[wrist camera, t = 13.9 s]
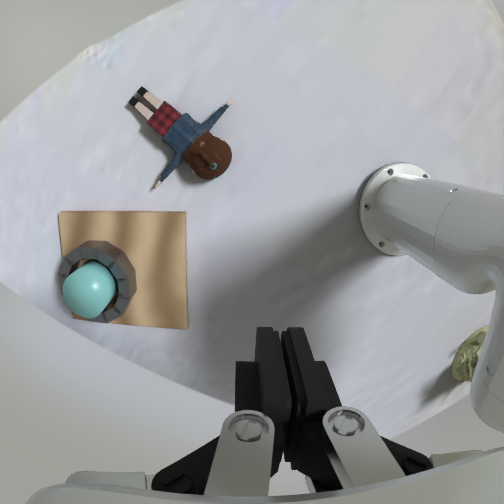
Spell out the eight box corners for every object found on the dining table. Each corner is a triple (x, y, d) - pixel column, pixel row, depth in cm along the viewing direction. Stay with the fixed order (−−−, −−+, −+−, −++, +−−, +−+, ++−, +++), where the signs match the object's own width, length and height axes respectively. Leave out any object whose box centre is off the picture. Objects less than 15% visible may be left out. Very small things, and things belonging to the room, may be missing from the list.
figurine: (494, 366, 50) (531, 406, 36) (448, 391, 51) (482, 439, 37) (503, 314, 46) (550, 351, 32) (454, 339, 47) (499, 387, 33)
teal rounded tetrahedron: (118, 257, 39) (100, 274, 33) (123, 299, 41) (107, 320, 35) (79, 256, 39) (58, 271, 33) (85, 296, 41) (67, 315, 35)
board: (186, 211, 39) (184, 213, 38) (188, 325, 43) (187, 329, 43) (62, 211, 38) (58, 212, 37) (75, 315, 43) (73, 318, 42)
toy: (107, 139, 37) (189, 213, 39) (90, 137, 32) (181, 219, 34) (177, 57, 34) (266, 129, 36) (168, 45, 29) (267, 123, 32)
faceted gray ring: (133, 241, 39) (125, 248, 36) (139, 315, 42) (133, 325, 39) (65, 239, 38) (54, 245, 35) (75, 308, 41) (66, 318, 38)
